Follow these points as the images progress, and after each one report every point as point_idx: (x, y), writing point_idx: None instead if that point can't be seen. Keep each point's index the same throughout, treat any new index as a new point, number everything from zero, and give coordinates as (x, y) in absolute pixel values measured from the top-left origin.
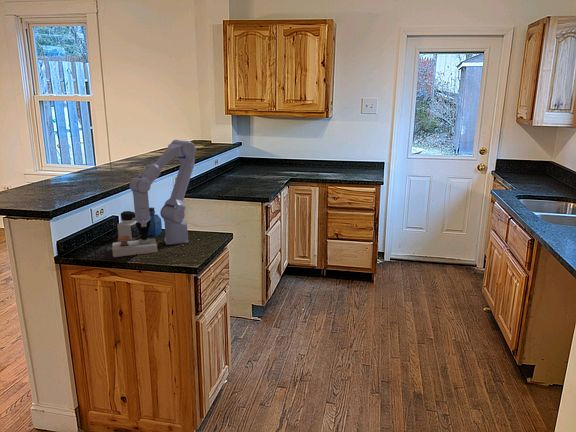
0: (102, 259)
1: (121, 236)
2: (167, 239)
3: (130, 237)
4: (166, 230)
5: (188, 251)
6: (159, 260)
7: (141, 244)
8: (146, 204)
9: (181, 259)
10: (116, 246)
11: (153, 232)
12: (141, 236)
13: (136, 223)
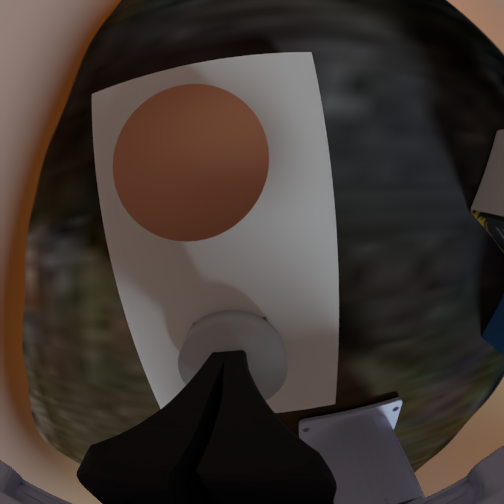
0: (101, 57)
1: (244, 122)
2: (330, 438)
3: (485, 202)
4: (346, 480)
5: None
6: (60, 374)
7: (190, 327)
8: None
9: (85, 436)
10: None
11: (498, 333)
12: (199, 375)
13: (165, 493)
